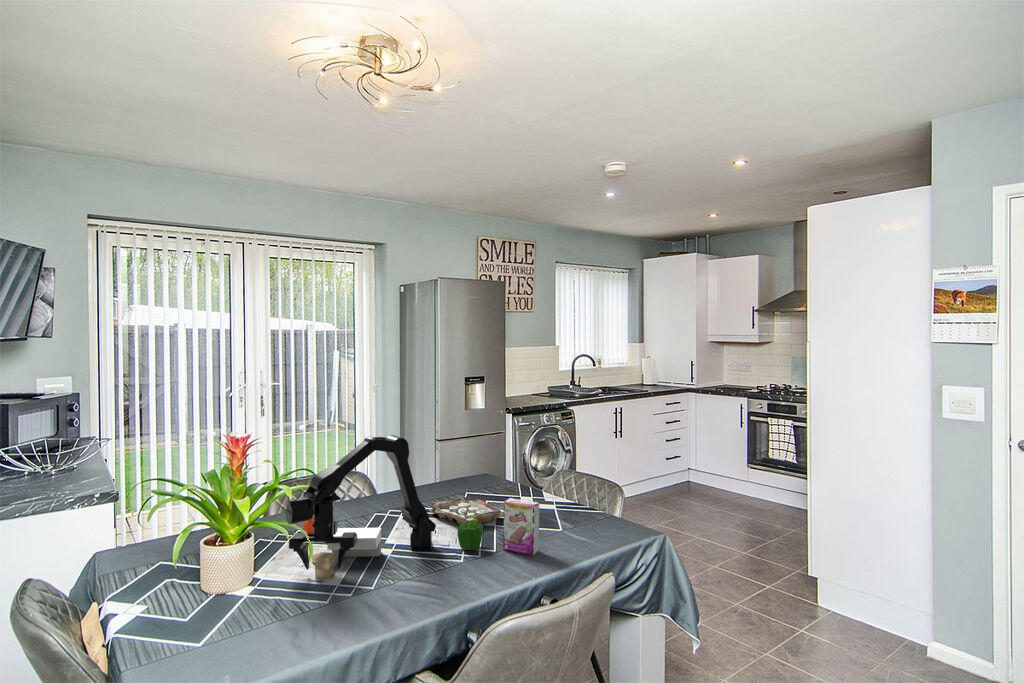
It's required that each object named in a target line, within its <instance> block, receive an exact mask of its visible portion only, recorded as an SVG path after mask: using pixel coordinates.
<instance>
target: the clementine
mask: <svg viewBox="0 0 1024 683" xmlns="http://www.w3.org/2000/svg"><path fill="white" fill-rule="evenodd" d="M302 528H303V531H304V533H307V534H308V535H313V518H311V519H310V520H309V521H304V522H302Z"/></svg>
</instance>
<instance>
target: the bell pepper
mask: <svg viewBox="0 0 1024 683" xmlns="http://www.w3.org/2000/svg"><path fill="white" fill-rule="evenodd" d="M477 521H478V520H477V519H472V520H470V522H469V523H465V522H463V523H462V524H459V526H458V527H457V539H458V544H459V547H460V548H461V549H462V550H464V551H470V550H478V549H479V548H480V545H481V543H482V539H483V534H484V526H483V525H482V523H481V524H476V523H475V522H477Z"/></svg>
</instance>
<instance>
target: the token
mask: <svg viewBox="0 0 1024 683" xmlns="http://www.w3.org/2000/svg"><path fill="white" fill-rule="evenodd" d="M319 553H320V552H316V553H314V554H313V555H312V556H311V562H312V561H313V562H315V557H316V556H317V555H318V554H319ZM313 562H312V563H313Z"/></svg>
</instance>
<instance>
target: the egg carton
mask: <svg viewBox="0 0 1024 683" xmlns="http://www.w3.org/2000/svg"><path fill="white" fill-rule="evenodd" d="M433 506H434V507H431V509H429V512H431V513H432V514H434V515H436V516H437V515H438V517H439V519H443V520H446V519H449V521H450V522H452V523H453V522H455V521H456V522H457V524H458V525H460V524H462V523H463V522H465V523H469V522H470V520H472V519H477V520H478V521H477V522H475V523H476V524H481V525H482V523H489V522H491V521H492V519H493V518H494V517H495V519H498V518H499V516H500V515H501V513H504V508H502V509H496V508H495V507H493V506H492V505H491V504H490V503H487V502H486V501H484V500H481V499H479V498H474V497H466V496H460V497H455V498H449V499H447V500H444V501H443V500H442V501H438V502H435V503H434V504H433Z"/></svg>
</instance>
